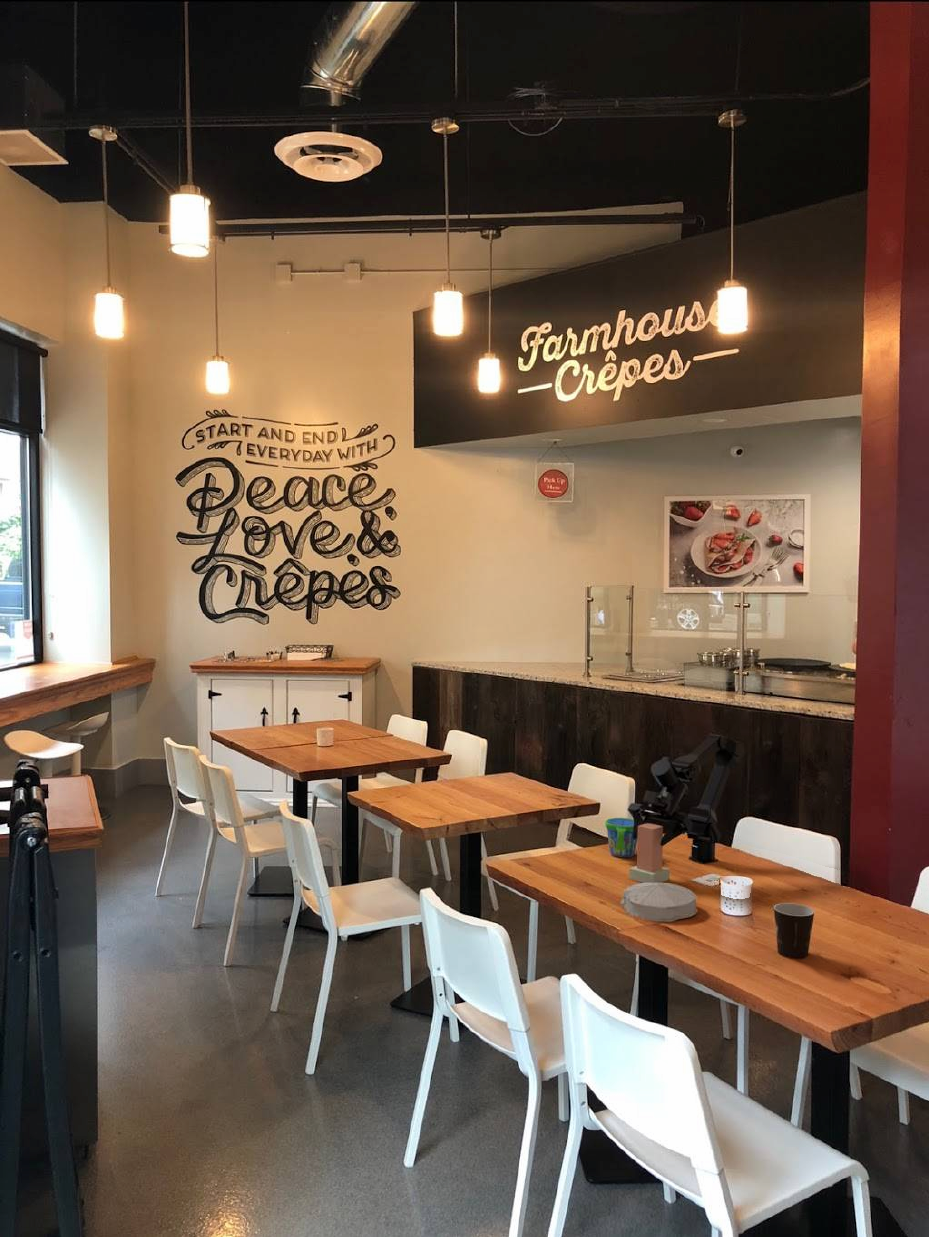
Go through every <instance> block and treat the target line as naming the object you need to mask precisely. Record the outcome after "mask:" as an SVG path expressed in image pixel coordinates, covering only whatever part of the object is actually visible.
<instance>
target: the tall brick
mask: <svg viewBox="0 0 929 1237" xmlns="http://www.w3.org/2000/svg"><path fill="white" fill-rule="evenodd" d="M663 836H664V826H662V825H658V824H655V823H650V822H646V824H643V825H639V826H638V838H637V844H636V866H637V869H641V870H645V871H648V872H654V871H657V870H660V869H662V867H663V853H664V852H663V850H664V849H663V847H664V846H661V845H660V843H661V840H662V838H663Z"/></svg>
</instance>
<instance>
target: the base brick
mask: <svg viewBox="0 0 929 1237" xmlns="http://www.w3.org/2000/svg"><path fill="white" fill-rule="evenodd" d="M628 870H629V875H628V878H629V880H630V881H631V880H632V881H635V882H638V883H644V882H646V883H650V882H651V883H654V882H656V883H665V882H667V881H669V880H670V876H671V873H670V872H671V871H670V870H671V869H670V868H668V867H665V866H662V869H660V870H657V871H654V872H648V871H645V870H641V869H637V865H635V866H633V867H630V868H629V869H628Z"/></svg>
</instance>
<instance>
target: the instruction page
mask: <svg viewBox="0 0 929 1237" xmlns="http://www.w3.org/2000/svg"><path fill="white" fill-rule="evenodd" d="M701 877H702V878H701ZM720 877H724V876H722V875H719V874H716V873H710V874H706V875H704V876H703V875H702V876H700V877H696V878H692V879H691V880H692V881H691V882H693V881H695V882H694V883H697V882H698V884H700V883H701V885H704V886H707V885H708V886H707V887H710V886H711V888H712V887H716V886H719V878H720ZM714 880H715V881H714ZM717 880H718V881H717ZM714 883H715V884H714ZM715 885H716V886H715Z"/></svg>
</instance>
